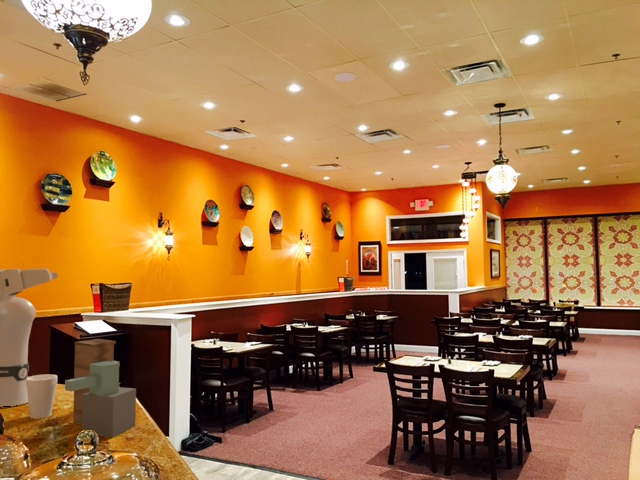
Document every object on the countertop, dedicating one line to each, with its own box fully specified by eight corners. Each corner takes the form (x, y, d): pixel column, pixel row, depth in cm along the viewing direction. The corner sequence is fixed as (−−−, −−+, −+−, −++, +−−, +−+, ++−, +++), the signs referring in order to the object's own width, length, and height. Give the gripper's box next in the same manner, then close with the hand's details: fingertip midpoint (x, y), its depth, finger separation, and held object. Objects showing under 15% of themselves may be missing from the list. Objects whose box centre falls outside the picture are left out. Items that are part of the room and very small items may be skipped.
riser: (81, 434, 161) (82, 394, 161) (106, 423, 171) (106, 386, 172) (112, 437, 158) (113, 397, 158) (135, 426, 168) (136, 388, 169)
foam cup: (49, 410, 186) (50, 373, 186) (61, 415, 180) (62, 377, 180) (20, 416, 179) (21, 377, 179) (31, 422, 172) (32, 381, 173)
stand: (91, 427, 167) (93, 344, 168) (72, 422, 172) (74, 342, 173) (114, 420, 175) (116, 341, 176) (95, 415, 180) (97, 338, 181)
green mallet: (73, 403, 151) (74, 371, 151) (61, 400, 154) (62, 369, 155) (122, 391, 165) (123, 362, 166) (110, 388, 168) (111, 360, 169)
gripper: (-16, 302, 153) (31, 294, 165) (21, 290, 142) (69, 282, 154) (-21, 281, 153) (27, 274, 165) (16, 267, 142) (64, 261, 154)
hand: (47, 278), depth 159 cm, fingers open, 8 cm apart
